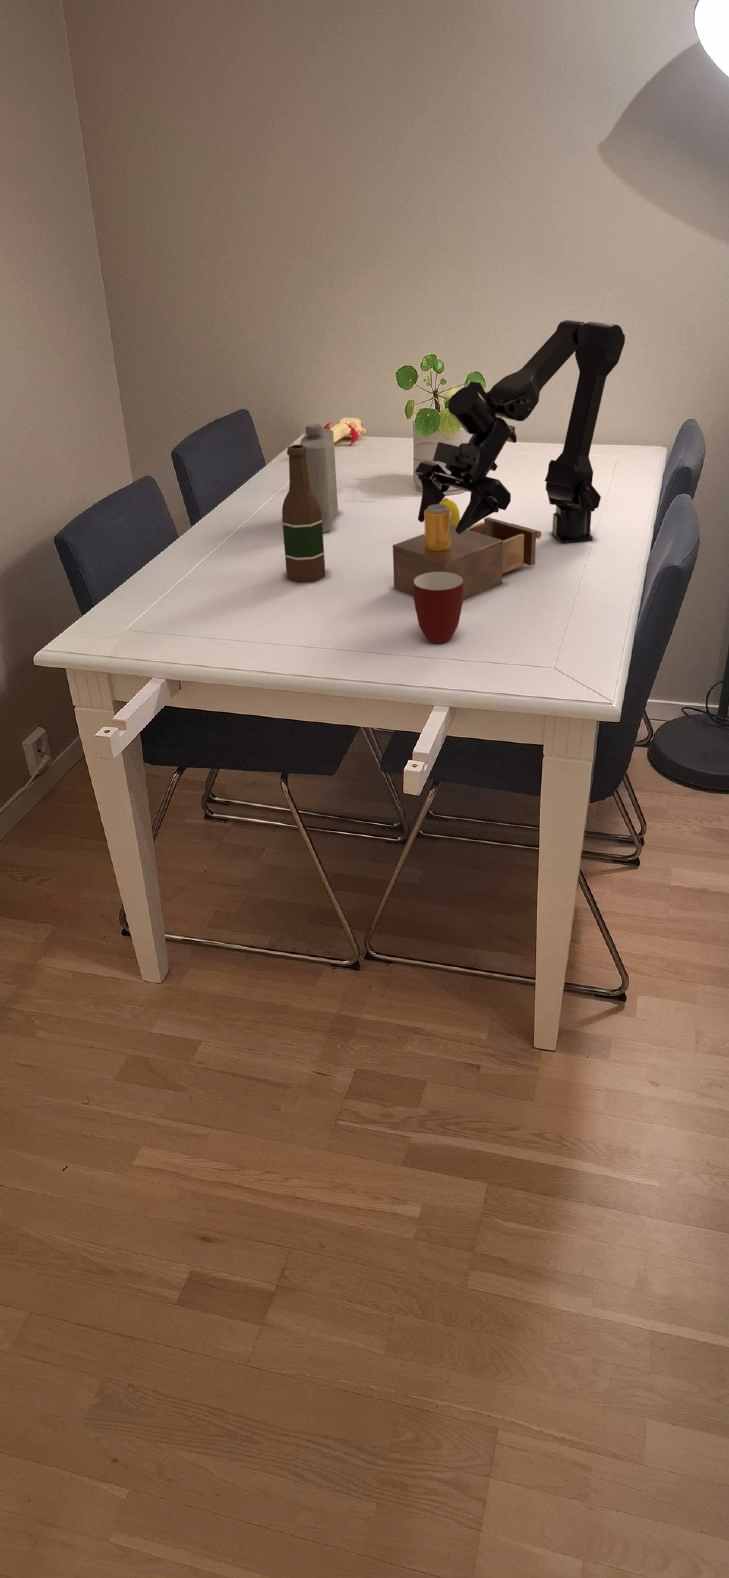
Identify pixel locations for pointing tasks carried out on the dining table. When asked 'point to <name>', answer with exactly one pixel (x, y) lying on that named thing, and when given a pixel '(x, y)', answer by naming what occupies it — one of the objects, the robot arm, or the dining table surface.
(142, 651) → the dining table surface
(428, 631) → the mug
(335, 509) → the flask
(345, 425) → the meaty bone
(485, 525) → the drawer
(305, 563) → the beer bottle
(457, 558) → the cabinet
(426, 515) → the yellow jar
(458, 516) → the lemon
